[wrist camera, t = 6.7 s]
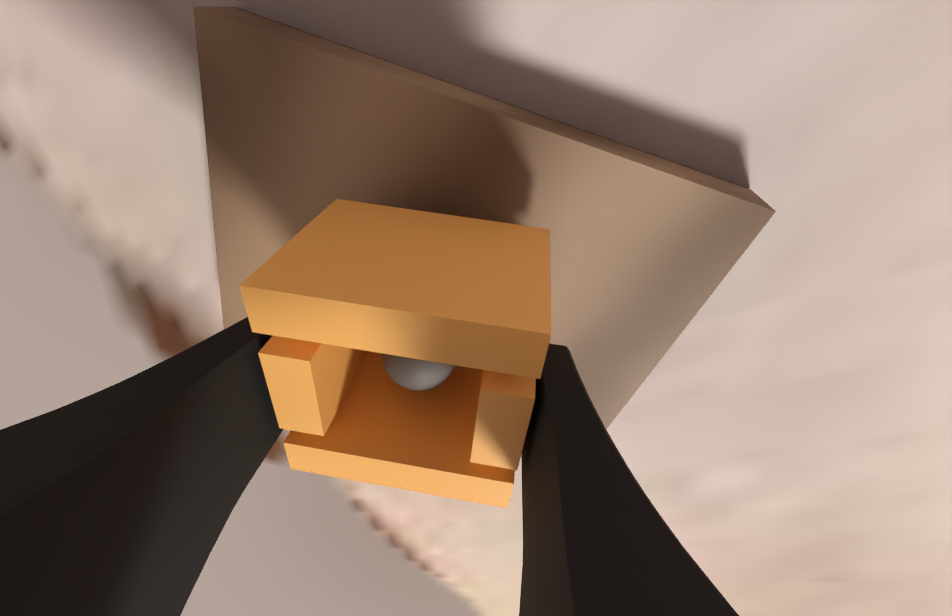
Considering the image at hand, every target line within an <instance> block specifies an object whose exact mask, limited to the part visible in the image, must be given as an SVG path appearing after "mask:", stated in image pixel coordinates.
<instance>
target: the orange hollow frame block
mask: <svg viewBox="0 0 952 616" xmlns="http://www.w3.org/2000/svg"><path fill="white" fill-rule="evenodd" d="M239 287H240V291H241V294H242V298H243V301H244V305H245V308H246V312H247V315H248V319H249V323H250V326H251V330H252V332H255V333H261V334H267V335H273V336H272V337H271V338H270V339H269V340H268V342H267V343H266V344H265V345H264V346H263V348H262V349H261V350H260V351H259V352H258V354H259V358H260V361H261V365H262V368H263V372H264V376H265V379H266V383H267V386H268V390H269V393H270V397H271V400H272V404H273V407H274V411H275V414H276V418H277V421H278V425H279V428H280V429H286V430H291V431H290V433H289V435H288V436H287V438H286V439H285V441H284V446H285V450H286V453H287V457H288V460H289V464H290V467H291V469H295V470H300V471H306V472H311V473H317V474H322V475H328V476H333V477H339V478H344V479H350V480H355V481H361V482H366V483H372V484H377V485H382V486H388V487H393V488H399V489H404V490H410V491H415V492H421V493H426V494H432V495H437V496H443V497H448V498H454V499H459V500H465V501H470V502H476V503H481V504H487V505H492V506H498V507H503V508H508V504H509V500H510V496H511V492H512V489H513V485H514V472H515V470H517V469H518V465H519V461H520V457H521V453H522V449H523V445H524V441H525V437H526V433H527V429H528V425H529V421H530V417H531V413H532V409H533V406H534V402H535V388H536V379H540V378H541V374H542V370H543V366H544V362H545V358H546V354H547V350H548V346H549V342H550V338H551V267H550V229H545V228H538V227H531V226H524V225H517V224H510V223H503V222H496V221H489V220H482V219H475V218H468V217H461V216H454V215H447V214H440V213H433V212H425V211H418V210H411V209H404V208H397V207H390V206H383V205H376V204H369V203H362V202H355V201H348V200H341V199H336V200H335V201H334V202H333V203H331V204H330V205H329V206H328V207H327V208H326V209H325V210H323V211H322V212H321V213H320V214H319V215H318V216H317V217H316V218H314V219H313V220H312V221H311V222H310V223H309V224H308V225H307V226H305V227H304V228H303V229H302V230H301V231H300V232H299V233H298V234H296V235H295V236H294V237H293V238H292V239H291V240H290V241H288V242H287V243H286V244H285V245H284V246H283V247H282V248H281V249H279V250H278V251H277V252H276V253H275V254H274V255H273V256H272V257H270V258H269V259H268V260H267V261H266V262H265V263H264V264H263V265H261V266H260V267H259V268H258V269H257V270H256V271H255V272H253V273H252V274H251V275H250V276H249V277H248V278H247V279H246V280H244V281H243V282H242V283H241V284H240V285H239ZM382 353H383V354H390V355H396V356H402V357H408V358H414V359H420V360H426V361H432V362H438V363H445V364H451V365H455V368H454V370H453V372H452V373H451V375H450V376H449V377H448V378H447V379H446V380H445V381H444V382H443V383H442V384H440V385H439V386H437V387H435V388H433V389H430V390H425V391H413V390H409V389H406V388H403V387H401V386H399V385H398V384H396V383H395V382H394V381H393V380H392V379H391V378H390V377H389V375H388V374H387V372H386V370H385V368H384V365H383V361H382Z"/></svg>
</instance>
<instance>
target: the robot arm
mask: <svg viewBox="0 0 952 616" xmlns="http://www.w3.org/2000/svg"><path fill="white" fill-rule="evenodd" d="M272 336H273V335H267V334H261V333H255V332H252V330H251V326H250V323H249V319H248V317H246V318H244V319H243V320H241V321H239V322H237V323H235V324H233V325H232V326H230V327H228V328H226V329H224V330H222V331H220V332H219V333H217V334H215V335H213V336H211V337H209V338H207V339H206V340H204V341H202V342H200V343H198V344H196V345H194V346H193V347H191V348H189V349H187V350H185V351H183V352H181V353H179V354H177V355H175V356H173V357H171V358H169V359H167V360H165V361H163V362H161V363H159V364H157V365H155V366H153V367H151V368H149V369H147V370H145V371H143V372H141V373H139V374H137V375H135V376H133V377H130V378H128V379H126V380H124V381H122V382H120V383H117V384H115V385H113V386H111V387H108V388H106V389H104V390H102V391H99V392H97V393H95V394H92V395H90V396H87V397H85V398H83V399H80V400H78V401H75V402H73V403H71V404H68V405H66V406H63V407H61V408H58V409H56V410H54V411H51V412H48V413H46V414H43V415H40V416H38V417H35V418H32V419H29V420H26V421H24V422H21V423H18V424H15V425H13V426H10V427H7V428H4V429H2V430H0V616H180V615H181V613H182V611H183V608H184V606H185V604H186V602H187V600H188V598H189V596H190V594H191V591H192V589H193V587H194V585H195V583H196V581H197V579H198V577H199V575H200V573H201V571H202V569H203V567H204V565H205V563H206V561H207V558H208V556H209V554H210V552H211V550H212V548H213V547H214V545H215V543H216V541H217V539H218V537H219V535H220V533H221V531H222V529H223V527H224V525H225V523H226V521H227V519H228V517H229V515H230V513H231V512H232V510H233V508H234V506H235V505H236V503H237V501H238V499H239V498H240V496H241V494H242V493H243V491H244V489H245V488H246V486H247V485H248V483H249V482H250V480H251V479H252V477H253V475H254V474H255V472H256V471H257V469H258V468H259V466H260V465H261V463H262V461H263V460H264V458H265V457H266V455H267V454H268V452H269V451H270V449H271V448H272V446H273V444H274V443H275V441H276V440H277V438H278V437H279V435H280V434H281V432H282V430H283V429H280V428H279V425H278V421H277V418H276V414H275V411H274V407H273V404H272V400H271V397H270V393H269V390H268V386H267V383H266V379H265V376H264V372H263V368H262V365H261V361H260V358H259V354H258V352H259V351H260V350H261V349H262V348H263V346H264V345H265V344H266V343H267V342H268V340H269V339H270V338H271V337H272ZM522 505H523V568H522V583H521V597H520V612H519V616H739V615H738V614H737V613H736V612H735V610H734V609H733V608H732V607H731V606H730V604H729V603H728V602H727V601H726V599H725V598H724V597H723V596H722V594H721V593H720V592H719V591H718V589H717V588H716V587H715V586H714V585H713V583H712V582H711V581H710V580H709V578H708V577H707V576H706V575H705V573H704V572H703V571H702V570H701V568H700V567H699V566H698V565H697V563H696V562H695V561H694V560H693V559H692V557H691V556H690V555H689V554H688V552H687V551H686V550H685V549H684V547H683V546H682V545H681V543H680V542H679V541H678V539H677V538H676V536H675V535H674V534H673V532H672V531H671V530H670V528H669V527H668V526H667V524H666V523H665V521H664V520H663V519H662V517H661V516H660V515H659V513H658V512H657V510H656V509H655V507H654V506H653V504H652V503H651V501H650V500H649V499H648V497H647V496H646V494H645V493H644V491H643V490H642V488H641V487H640V485H639V484H638V482H637V481H636V479H635V477H634V476H633V474H632V473H631V471H630V469H629V468H628V466H627V465H626V463H625V461H624V460H623V458H622V456H621V455H620V453H619V451H618V449H617V448H616V446H615V444H614V443H613V441H612V439H611V437H610V435H609V434H608V432H607V430H606V428H605V426H604V424H603V422H602V420H601V419H600V417H599V415H598V413H597V411H596V409H595V407H594V405H593V403H592V401H591V399H590V397H589V395H588V393H587V391H586V388H585V386H584V384H583V382H582V380H581V377H580V375H579V373H578V370H577V368H576V366H575V363H574V360H573V358H572V355H571V352H570V350H569V349H568V348H567V346H563V345H557V344H550V343H549V346H548V350H547V354H546V358H545V362H544V366H543V370H542V374H541V378H540V379H536V388H535V402H534V406H533V409H532V413H531V417H530V421H529V425H528V429H527V433H526V437H525V441H524V445H523V449H522Z"/></svg>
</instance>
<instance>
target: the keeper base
mask: <svg viewBox="0 0 952 616" xmlns="http://www.w3.org/2000/svg"><path fill="white" fill-rule="evenodd" d="M194 15H195V26H196V37H197V47H198V58H199V69H200V79H201V90H202V101H203V111H204V122H205V133H206V143H207V154H208V165H209V175H210V186H211V197H212V208H213V218H214V229H215V240H216V250H217V261H218V272H219V282H220V293H221V304H222V314H223V325H224V329H226V328H228V327H230V326H232V325H233V324H235V323H237V322H239V321H241V320H243V319H244V318H246V317H248V315H247V312H246V308H245V305H244V301H243V298H242V294H241V291H240V287H239V285H240V284H241V283H242V282H243V281H244V280H246V279H247V278H248V277H249V276H250V275H251V274H252V273H253V272H255V271H256V270H257V269H258V268H259V267H260V266H261V265H263V264H264V263H265V262H266V261H267V260H268V259H269V258H270V257H272V256H273V255H274V254H275V253H276V252H277V251H278V250H279V249H281V248H282V247H283V246H284V245H285V244H286V243H287V242H288V241H290V240H291V239H292V238H293V237H294V236H295V235H296V234H298V233H299V232H300V231H301V230H302V229H303V228H304V227H305V226H307V225H308V224H309V223H310V222H311V221H312V220H313V219H314V218H316V217H317V216H318V215H319V214H320V213H321V212H322V211H323V210H325V209H326V208H327V207H328V206H329V205H330V204H331V203H333V202H334V201H335V200H336V199H341V200H348V201H355V202H362V203H369V204H376V205H383V206H390V207H397V208H404V209H411V210H418V211H425V212H433V213H440V214H447V215H454V216H461V217H468V218H475V219H482V220H489V221H496V222H503V223H510V224H517V225H524V226H531V227H538V228H545V229H550V267H551V338H550V342H549V343H550V344H557V345H563V346H567V348H568V349H569V350H570V352H571V355H572V358H573V360H574V363H575V366H576V368H577V370H578V373H579V375H580V377H581V380H582V382H583V384H584V386H585V388H586V391H587V393H588V395H589V397H590V399H591V401H592V403H593V405H594V407H595V409H596V411H597V413H598V415H599V417H600V419H601V420H602V422H603V424H604V426H605V428H606V429H607V428H608V426H609V425H610V424H611V423H612V421H613V420H614V419H615V417H616V416H617V415H618V414H619V412H620V411H621V410H622V408H623V407H624V406H625V405H626V403H627V402H628V401H629V399H630V398H631V397H632V396H633V394H634V393H635V392H636V390H637V389H638V388H639V387H640V385H641V384H642V383H643V381H644V380H645V379H646V378H647V376H648V375H649V374H650V372H651V371H652V370H653V369H654V367H655V366H656V365H657V363H658V362H659V361H660V360H661V358H662V357H663V356H664V354H665V353H666V352H667V351H668V349H669V348H670V347H671V345H672V344H673V343H674V342H675V340H676V339H677V338H678V336H679V335H680V334H681V333H682V331H683V330H684V329H685V327H686V326H687V325H688V324H689V322H690V321H691V320H692V318H693V317H694V316H695V315H696V313H697V312H698V311H699V309H700V308H701V307H702V306H703V304H704V303H705V302H706V300H707V299H708V298H709V297H710V295H711V294H712V293H713V291H714V290H715V289H716V288H717V286H718V285H719V284H720V282H721V281H722V280H723V279H724V277H725V276H726V275H727V273H728V272H729V271H730V269H731V268H732V267H733V266H734V264H735V263H736V262H737V260H738V259H739V258H740V257H741V255H742V254H743V253H744V251H745V250H746V249H747V248H748V246H749V245H750V244H751V242H752V241H753V240H754V239H755V237H756V236H757V235H758V233H759V232H760V231H761V230H762V228H763V227H764V226H765V224H766V223H767V222H768V221H769V219H770V218H771V217H772V215H773V214H774V213H775V212H776V211H775V210H774V209H772V208H771V207H770V206H769V205H768V204H767V203H766V202H764V201H763V200H762V199H761V198H760V197H759V196H758V195H756V194H755V193H754V192H753V191H752V190H750V189H747V188H745V187H742V186H739V185H736V184H733V183H730V182H728V181H725V180H722V179H719V178H716V177H713V176H711V175H708V174H705V173H702V172H699V171H696V170H694V169H691V168H688V167H685V166H682V165H680V164H677V163H674V162H671V161H668V160H665V159H663V158H660V157H657V156H654V155H651V154H648V153H646V152H643V151H640V150H637V149H634V148H631V147H629V146H626V145H623V144H620V143H617V142H614V141H612V140H609V139H606V138H603V137H600V136H597V135H595V134H592V133H589V132H586V131H583V130H581V129H578V128H575V127H572V126H569V125H566V124H564V123H561V122H558V121H555V120H552V119H549V118H547V117H544V116H541V115H538V114H535V113H532V112H530V111H527V110H524V109H521V108H518V107H515V106H513V105H510V104H507V103H504V102H501V101H498V100H496V99H493V98H490V97H487V96H484V95H482V94H479V93H476V92H473V91H470V90H467V89H465V88H462V87H459V86H456V85H453V84H450V83H448V82H445V81H442V80H439V79H436V78H433V77H431V76H428V75H425V74H422V73H419V72H416V71H414V70H411V69H408V68H405V67H402V66H399V65H397V64H394V63H391V62H388V61H385V60H383V59H380V58H377V57H374V56H371V55H368V54H366V53H363V52H360V51H357V50H354V49H351V48H349V47H346V46H343V45H340V44H337V43H334V42H332V41H329V40H326V39H323V38H320V37H317V36H315V35H312V34H309V33H306V32H303V31H300V30H298V29H295V28H292V27H289V26H286V25H284V24H281V23H278V22H275V21H272V20H269V19H267V18H264V17H261V16H258V15H255V14H252V13H250V12H247V11H244V10H241V9H238V8H235V7H194ZM382 361H383V365H384V368H385V370H386V372H387V374H388V375H389V377H390V378H391V379H392V380H393V381H394V382H395V383H396V384H398V385H399V386H401V387H403V388H406V389H409V390H413V391H425V390H430V389H433V388H435V387H437V386H439V385H440V384H442V383H443V382H444V381H445V380H446V379H447V378H448V377H449V376H450V375H451V373H452V372H453V370H454V368H455V365H451V364H445V363H438V362H432V361H426V360H420V359H414V358H408V357H402V356H396V355H390V354H383V353H382Z"/></svg>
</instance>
